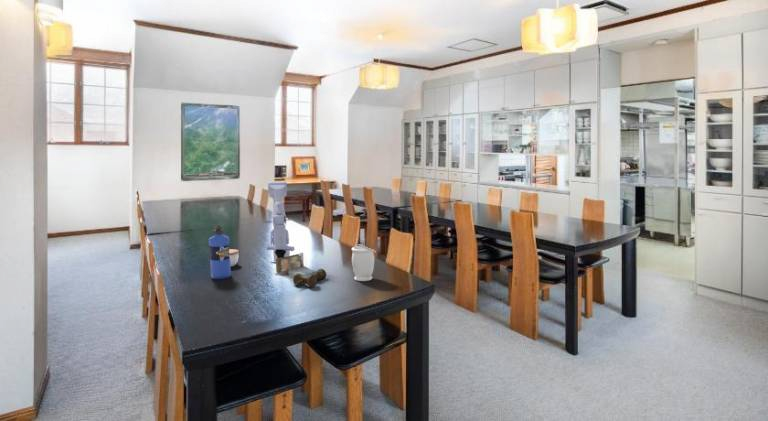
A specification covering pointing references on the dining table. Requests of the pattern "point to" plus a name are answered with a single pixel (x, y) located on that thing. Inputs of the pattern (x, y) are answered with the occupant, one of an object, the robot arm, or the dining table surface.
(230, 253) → the lidded jar
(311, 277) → the dog chew
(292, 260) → the tan flat block
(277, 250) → the robot arm
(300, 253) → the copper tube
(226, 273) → the water bottle
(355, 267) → the jar
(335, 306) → the dining table surface
